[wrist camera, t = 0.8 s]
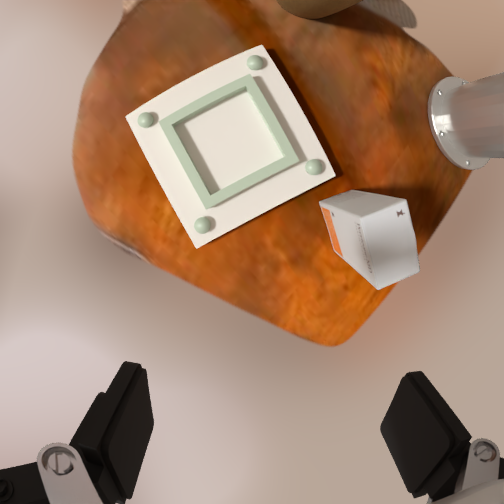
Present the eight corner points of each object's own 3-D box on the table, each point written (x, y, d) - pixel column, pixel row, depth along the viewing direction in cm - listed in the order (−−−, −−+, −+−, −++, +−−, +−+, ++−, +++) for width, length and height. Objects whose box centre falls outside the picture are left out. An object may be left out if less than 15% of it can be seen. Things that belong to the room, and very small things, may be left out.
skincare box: (316, 201, 31) (358, 215, 19) (352, 188, 31) (408, 196, 19) (333, 253, 32) (377, 292, 21) (366, 240, 32) (423, 271, 21)
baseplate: (261, 49, 27) (262, 39, 24) (331, 175, 30) (339, 175, 28) (130, 119, 28) (121, 114, 25) (198, 245, 32) (194, 251, 29)
